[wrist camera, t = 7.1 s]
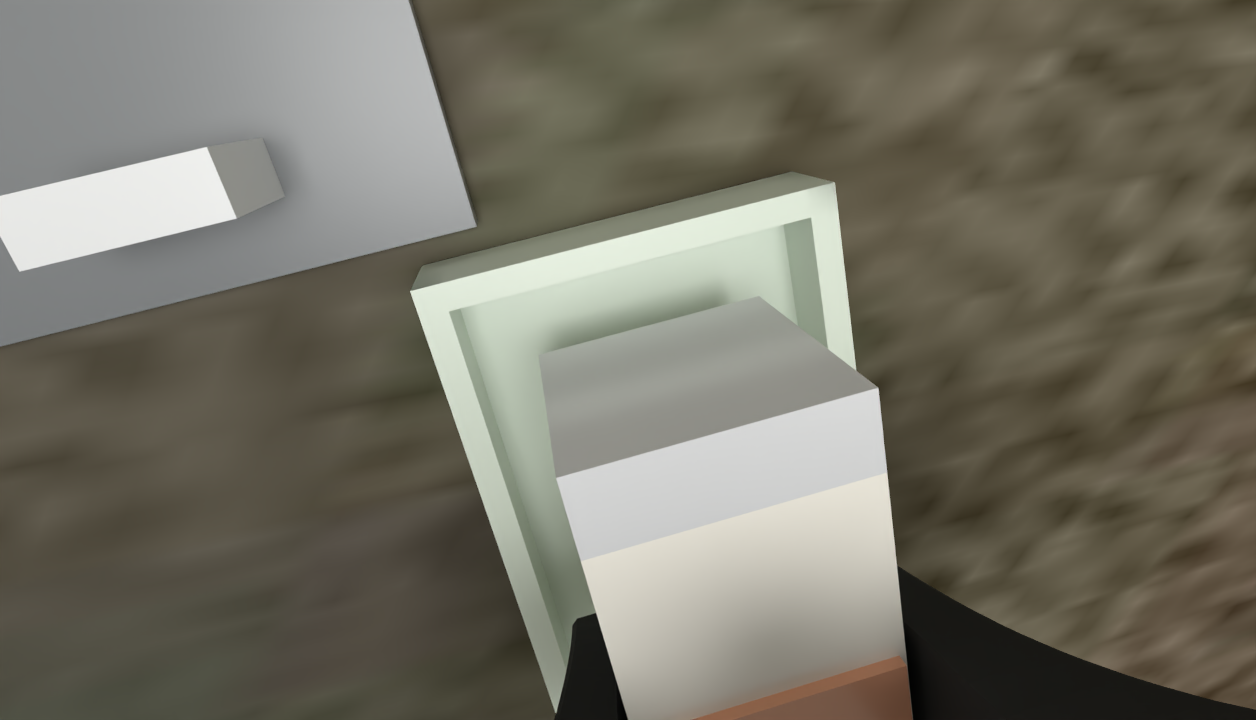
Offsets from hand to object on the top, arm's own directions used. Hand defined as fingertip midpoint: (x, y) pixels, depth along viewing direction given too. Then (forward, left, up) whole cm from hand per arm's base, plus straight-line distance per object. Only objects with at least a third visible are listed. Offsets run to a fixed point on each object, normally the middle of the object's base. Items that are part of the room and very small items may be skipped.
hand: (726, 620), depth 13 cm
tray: (0, 0, -4) cm, 4 cm away
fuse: (0, 0, -1) cm, 1 cm away
